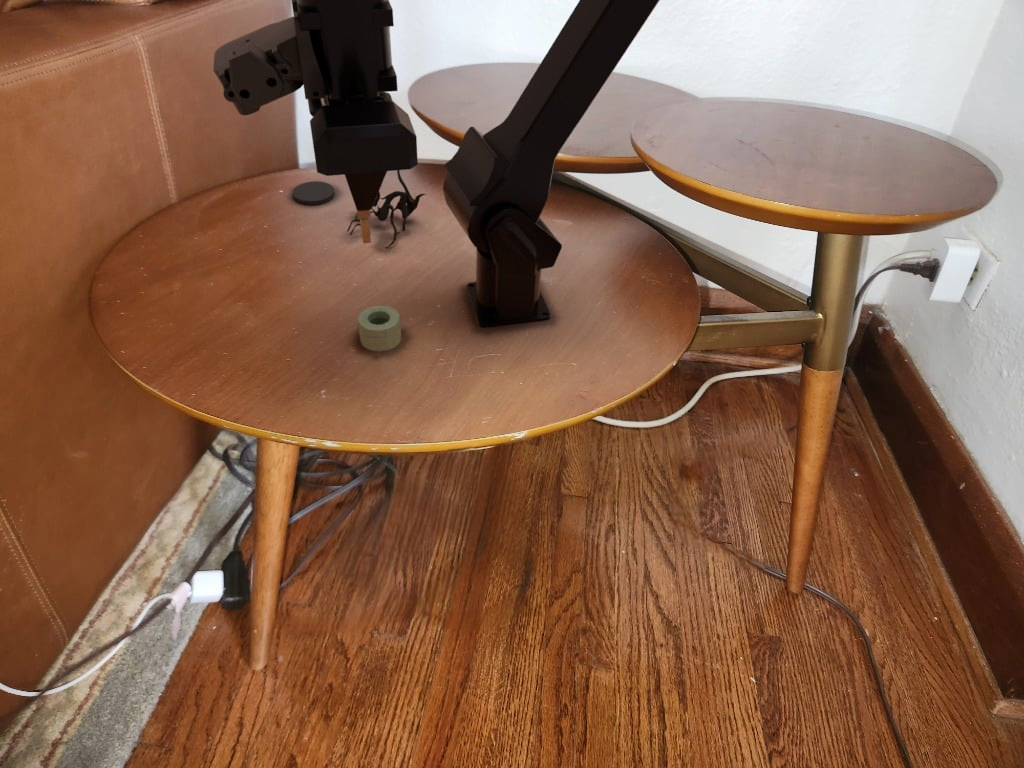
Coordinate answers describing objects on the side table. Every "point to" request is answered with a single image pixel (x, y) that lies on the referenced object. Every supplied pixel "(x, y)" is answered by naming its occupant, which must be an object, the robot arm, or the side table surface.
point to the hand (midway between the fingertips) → (363, 205)
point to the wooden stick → (364, 225)
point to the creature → (401, 205)
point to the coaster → (313, 193)
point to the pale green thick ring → (379, 328)
